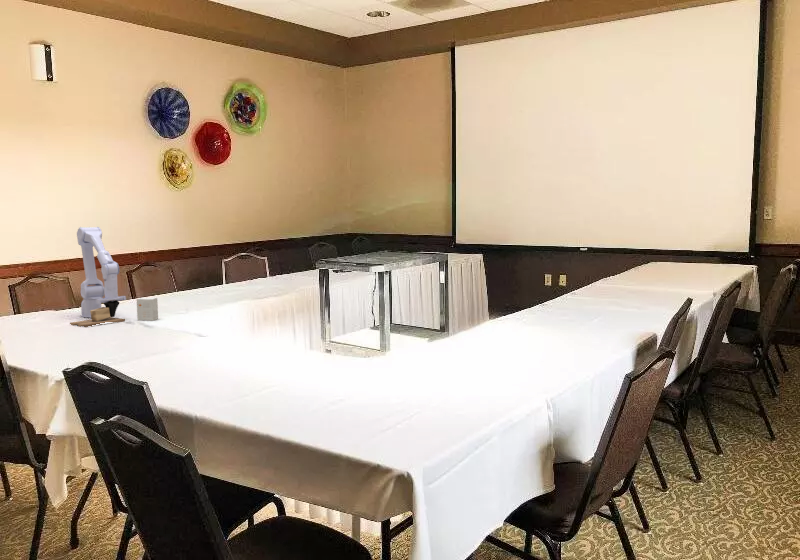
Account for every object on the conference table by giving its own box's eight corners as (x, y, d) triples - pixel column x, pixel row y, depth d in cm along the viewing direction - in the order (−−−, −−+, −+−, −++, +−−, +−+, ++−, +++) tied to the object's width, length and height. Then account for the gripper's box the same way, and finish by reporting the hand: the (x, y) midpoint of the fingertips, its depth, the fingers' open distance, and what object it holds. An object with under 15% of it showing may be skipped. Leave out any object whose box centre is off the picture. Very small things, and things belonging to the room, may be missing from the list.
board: (69, 324, 300) (69, 322, 300) (109, 318, 317) (108, 316, 317) (85, 327, 294) (85, 325, 293) (124, 321, 311) (124, 319, 310)
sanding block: (91, 321, 304) (90, 310, 303) (105, 317, 310) (103, 306, 309) (97, 321, 302) (95, 311, 301) (110, 317, 308) (108, 307, 307)
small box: (158, 319, 318) (157, 297, 317) (152, 320, 313) (152, 299, 311) (142, 318, 319) (142, 297, 318) (137, 320, 313) (136, 298, 312)
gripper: (102, 290, 302) (103, 319, 303) (129, 287, 314) (130, 315, 315) (93, 289, 305) (94, 318, 307) (120, 286, 318) (121, 314, 319)
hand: (112, 316), depth 311 cm, fingers closed
